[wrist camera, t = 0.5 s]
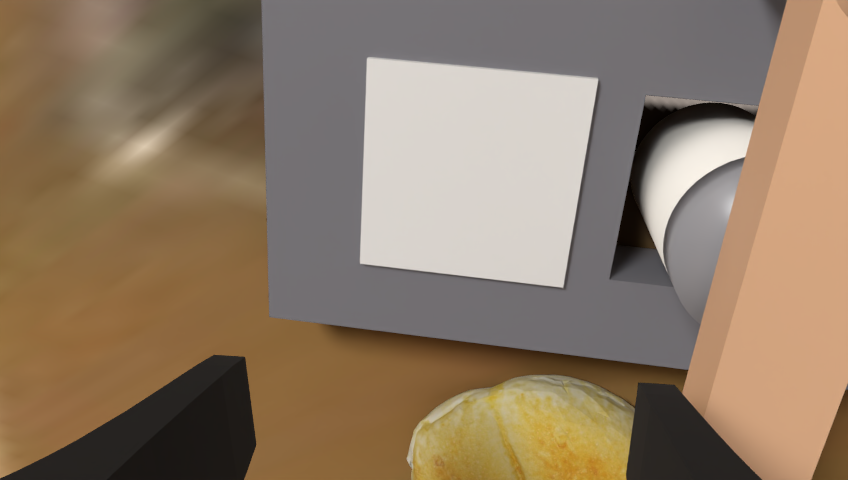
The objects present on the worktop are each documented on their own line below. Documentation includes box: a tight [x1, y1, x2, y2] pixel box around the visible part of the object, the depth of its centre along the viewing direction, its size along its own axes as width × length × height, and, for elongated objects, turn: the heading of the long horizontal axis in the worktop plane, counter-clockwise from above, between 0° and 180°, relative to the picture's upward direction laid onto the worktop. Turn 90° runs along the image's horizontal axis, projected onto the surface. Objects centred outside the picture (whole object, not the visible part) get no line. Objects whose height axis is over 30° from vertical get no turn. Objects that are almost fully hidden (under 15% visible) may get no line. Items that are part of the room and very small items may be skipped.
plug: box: [631, 103, 756, 324], centre depth 17 cm, size 4×4×6 cm
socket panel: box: [262, 0, 848, 390], centre depth 17 cm, size 20×13×6 cm, turn 86°
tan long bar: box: [682, 0, 848, 480], centre depth 13 cm, size 12×3×2 cm, turn 176°
